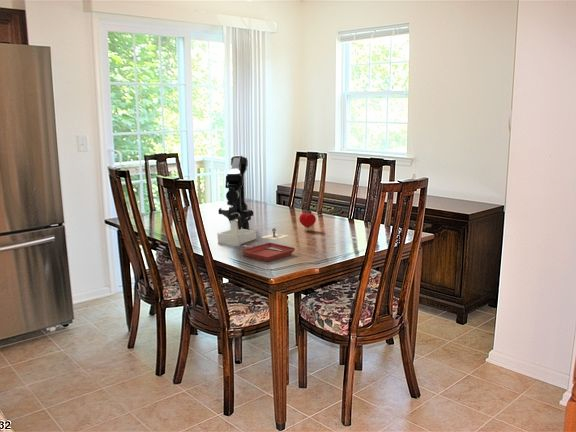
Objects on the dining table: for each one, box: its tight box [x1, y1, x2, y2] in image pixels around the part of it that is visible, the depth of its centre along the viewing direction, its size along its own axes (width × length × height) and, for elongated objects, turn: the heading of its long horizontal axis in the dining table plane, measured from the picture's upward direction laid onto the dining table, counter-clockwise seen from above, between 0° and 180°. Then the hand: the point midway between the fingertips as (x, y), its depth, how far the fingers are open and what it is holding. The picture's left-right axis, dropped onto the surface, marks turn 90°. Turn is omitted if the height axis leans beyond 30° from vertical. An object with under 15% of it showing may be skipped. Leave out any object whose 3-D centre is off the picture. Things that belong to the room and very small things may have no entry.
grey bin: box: [216, 228, 257, 247], centre depth 282 cm, size 14×14×5 cm
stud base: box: [260, 227, 289, 241], centre depth 287 cm, size 10×10×5 cm
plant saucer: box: [241, 242, 296, 262], centre depth 257 cm, size 18×18×3 cm
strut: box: [229, 219, 242, 236], centre depth 282 cm, size 4×4×9 cm
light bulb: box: [298, 212, 317, 232], centre depth 298 cm, size 9×7×10 cm
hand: (236, 228), depth 282 cm, fingers closed on strut, 4 cm apart
